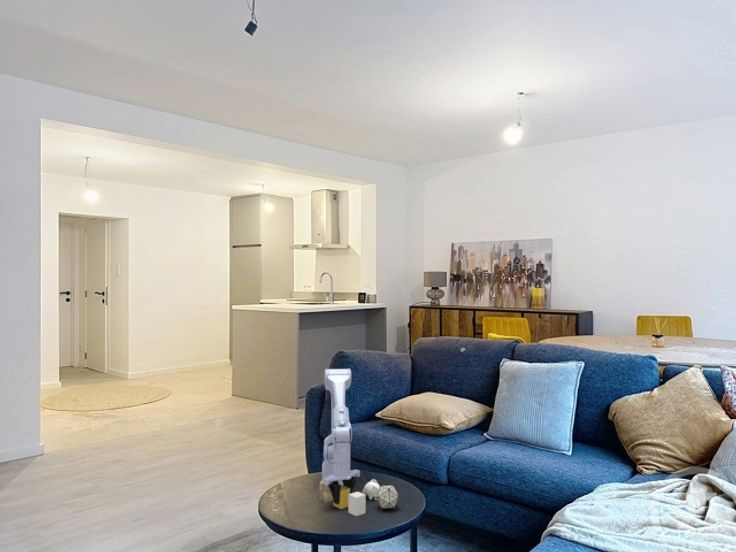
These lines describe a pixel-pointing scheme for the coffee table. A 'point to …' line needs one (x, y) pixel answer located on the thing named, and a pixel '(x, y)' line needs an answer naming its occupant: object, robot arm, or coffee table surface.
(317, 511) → the coffee table surface
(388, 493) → the game die
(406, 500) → the coffee table surface
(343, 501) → the mustard bar
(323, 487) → the birch bar
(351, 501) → the off-white bar
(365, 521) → the coffee table surface
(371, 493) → the elephant figurine
